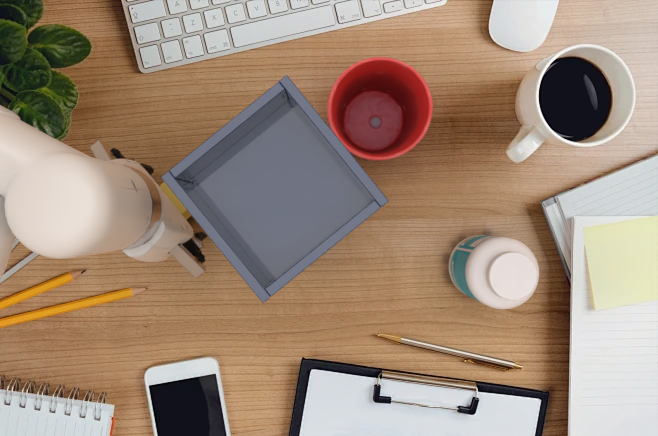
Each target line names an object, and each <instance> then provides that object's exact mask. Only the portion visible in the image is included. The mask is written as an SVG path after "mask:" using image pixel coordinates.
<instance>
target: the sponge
mask: <svg viewBox="0 0 658 436" xmlns="http://www.w3.org/2000/svg"><path fill="white" fill-rule="evenodd" d="M159 187H160V188H161V189H162V190H163V191H164V193H165V194H166V195H167V196H168V198H169V199H170V200H171V201H172V203H173V204H174V205H175V206H176V208H177V209H178V210H179V211H180V213H181V214H182V215H183V216H184V218H185V219H186V220H187V221H188V219H189V218H190V217H192V215H191V214H190V213H189V212H188V210H187V209H186V208H185V207H184V206H183V204H182V203H181V202H180V201H179V199H178V198H177V197H176V196H175V194H174V193H173V192H172V191H171V189H170V188H169V187H168V186H167V185H166V183H165V182H164V181H163V182H162V183H161V184H159Z"/></svg>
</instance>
